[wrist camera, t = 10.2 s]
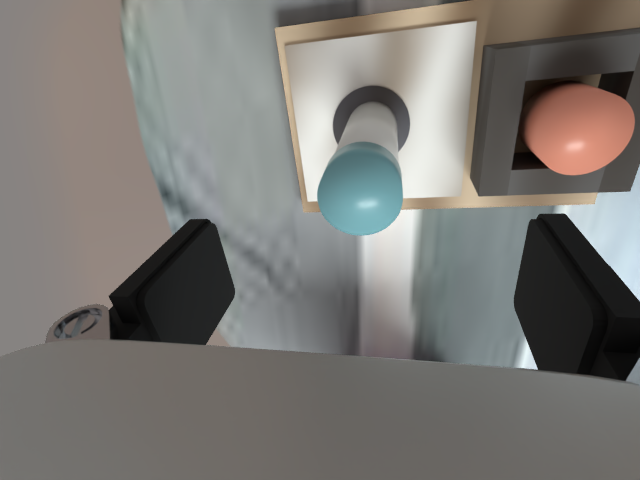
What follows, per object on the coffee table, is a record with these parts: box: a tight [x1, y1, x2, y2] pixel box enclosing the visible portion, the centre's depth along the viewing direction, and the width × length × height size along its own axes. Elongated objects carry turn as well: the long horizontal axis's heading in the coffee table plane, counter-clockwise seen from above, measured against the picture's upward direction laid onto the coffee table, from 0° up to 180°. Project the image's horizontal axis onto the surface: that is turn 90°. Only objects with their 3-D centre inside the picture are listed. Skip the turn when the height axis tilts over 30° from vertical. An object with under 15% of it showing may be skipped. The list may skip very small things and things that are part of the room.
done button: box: [518, 80, 635, 175], centre depth 19 cm, size 4×4×4 cm
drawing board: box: [275, 0, 640, 212], centre depth 22 cm, size 20×12×4 cm, turn 96°
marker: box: [317, 102, 403, 235], centre depth 19 cm, size 3×3×11 cm
